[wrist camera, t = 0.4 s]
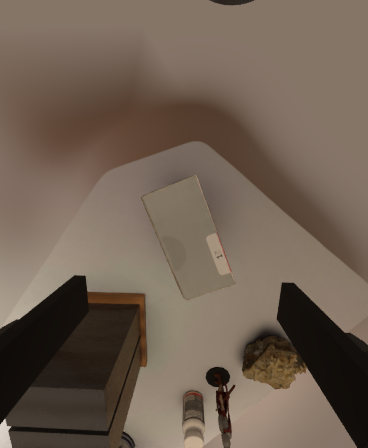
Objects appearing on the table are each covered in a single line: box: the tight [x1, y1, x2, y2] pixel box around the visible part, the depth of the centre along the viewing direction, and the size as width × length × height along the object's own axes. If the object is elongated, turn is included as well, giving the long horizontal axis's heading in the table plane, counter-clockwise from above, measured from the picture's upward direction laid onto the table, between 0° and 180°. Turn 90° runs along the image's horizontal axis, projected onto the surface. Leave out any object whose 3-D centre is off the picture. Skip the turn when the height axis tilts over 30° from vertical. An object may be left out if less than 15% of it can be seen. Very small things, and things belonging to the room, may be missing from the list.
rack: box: [5, 292, 147, 448], centre depth 40 cm, size 21×18×22 cm
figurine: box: [206, 367, 235, 448], centre depth 45 cm, size 7×7×15 cm
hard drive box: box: [141, 175, 235, 300], centre depth 34 cm, size 16×8×20 cm, turn 21°
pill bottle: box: [182, 391, 205, 448], centre depth 50 cm, size 6×6×10 cm
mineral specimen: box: [242, 335, 307, 389], centre depth 46 cm, size 14×13×10 cm
